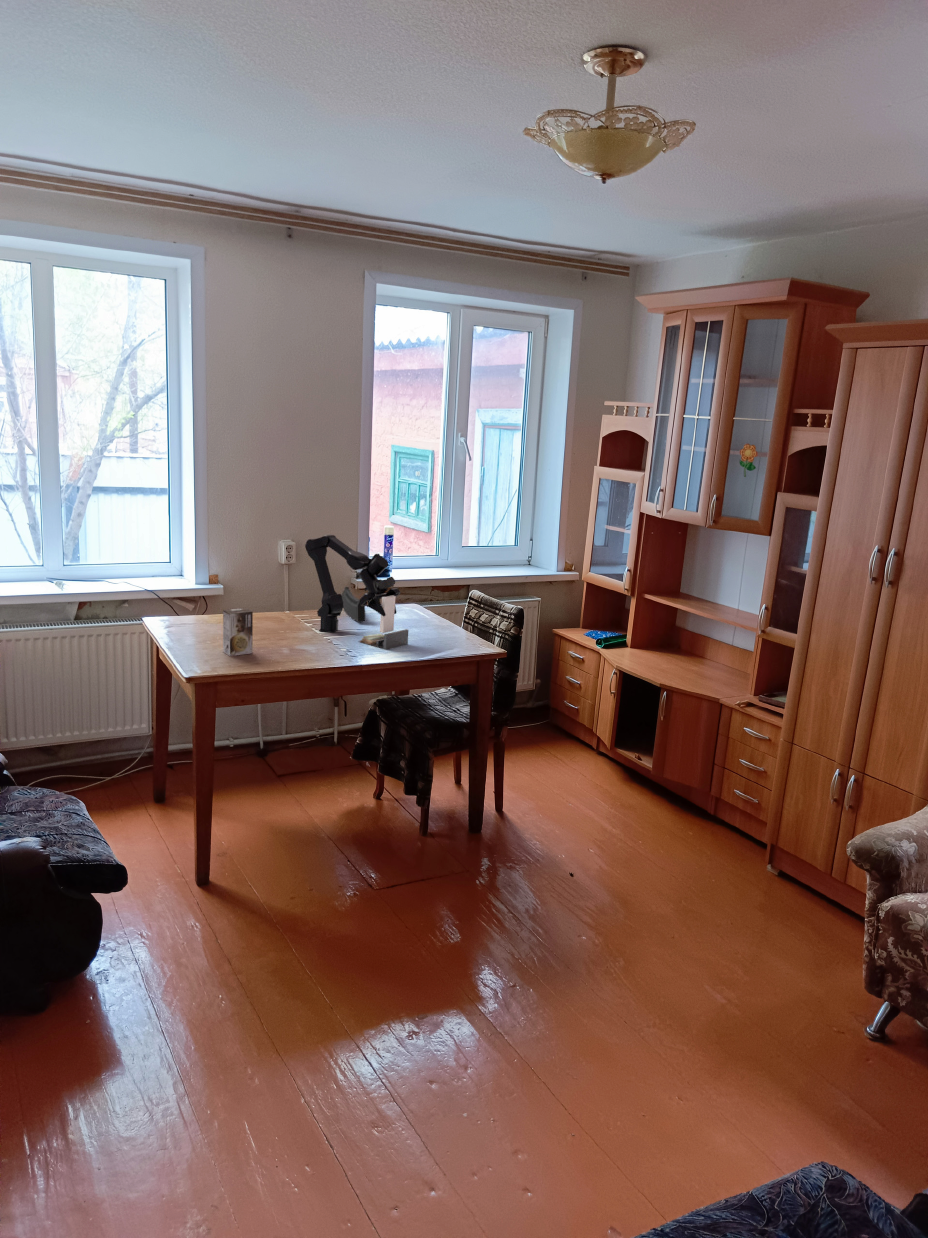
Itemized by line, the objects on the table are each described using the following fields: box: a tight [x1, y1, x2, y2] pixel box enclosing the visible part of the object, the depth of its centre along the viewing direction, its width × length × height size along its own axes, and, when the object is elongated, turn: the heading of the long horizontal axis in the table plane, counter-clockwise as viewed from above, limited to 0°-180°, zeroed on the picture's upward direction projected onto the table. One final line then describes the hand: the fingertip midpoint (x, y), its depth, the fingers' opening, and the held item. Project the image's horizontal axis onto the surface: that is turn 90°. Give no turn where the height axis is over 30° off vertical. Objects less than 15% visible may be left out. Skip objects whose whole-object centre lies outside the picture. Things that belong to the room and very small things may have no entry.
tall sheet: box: [379, 596, 397, 634], centre depth 344 cm, size 2×6×14 cm, turn 143°
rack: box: [358, 628, 410, 651], centre depth 347 cm, size 15×13×7 cm
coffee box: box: [222, 607, 254, 657], centre depth 321 cm, size 9×6×16 cm
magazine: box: [341, 586, 366, 623], centre depth 391 cm, size 17×3×30 cm
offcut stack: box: [359, 633, 384, 646], centre depth 350 cm, size 6×11×2 cm, turn 143°
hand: (390, 614), depth 343 cm, fingers closed on tall sheet, 6 cm apart
